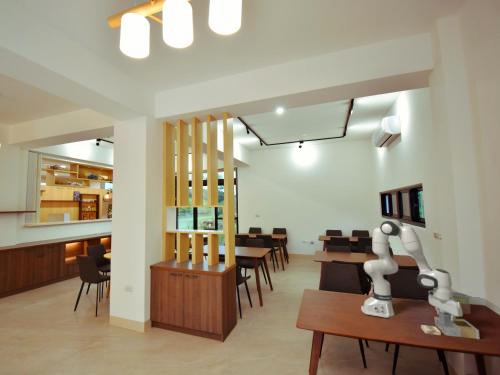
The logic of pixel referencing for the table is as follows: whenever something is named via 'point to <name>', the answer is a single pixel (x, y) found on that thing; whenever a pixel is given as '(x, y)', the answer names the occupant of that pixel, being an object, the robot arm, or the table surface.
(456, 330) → the grey yellow rectangular frame
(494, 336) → the table surface
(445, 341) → the table surface
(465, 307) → the canned food
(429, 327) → the tab
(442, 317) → the nut block
